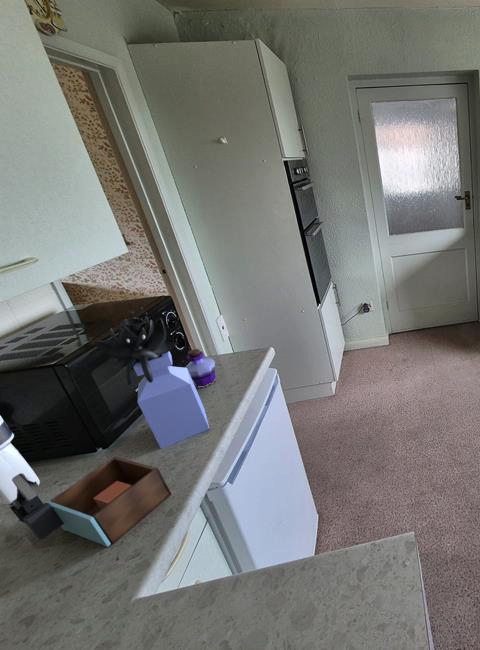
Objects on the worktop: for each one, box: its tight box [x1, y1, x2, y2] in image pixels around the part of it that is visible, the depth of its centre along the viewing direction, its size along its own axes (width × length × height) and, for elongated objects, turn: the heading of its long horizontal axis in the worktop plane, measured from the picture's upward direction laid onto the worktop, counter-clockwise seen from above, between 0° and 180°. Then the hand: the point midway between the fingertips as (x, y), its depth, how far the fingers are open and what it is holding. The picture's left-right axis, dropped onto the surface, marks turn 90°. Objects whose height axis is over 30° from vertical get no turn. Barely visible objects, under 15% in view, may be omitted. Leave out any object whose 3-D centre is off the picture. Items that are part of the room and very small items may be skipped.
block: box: [93, 481, 132, 510], centre depth 79 cm, size 4×4×4 cm
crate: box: [50, 455, 172, 545], centre depth 78 cm, size 12×14×8 cm
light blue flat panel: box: [23, 500, 112, 548], centre depth 71 cm, size 4×14×8 cm, turn 72°
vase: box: [93, 306, 210, 450], centre depth 94 cm, size 14×12×35 cm
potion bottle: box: [184, 348, 216, 386], centre depth 121 cm, size 9×9×12 cm
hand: (34, 515), depth 72 cm, fingers closed
